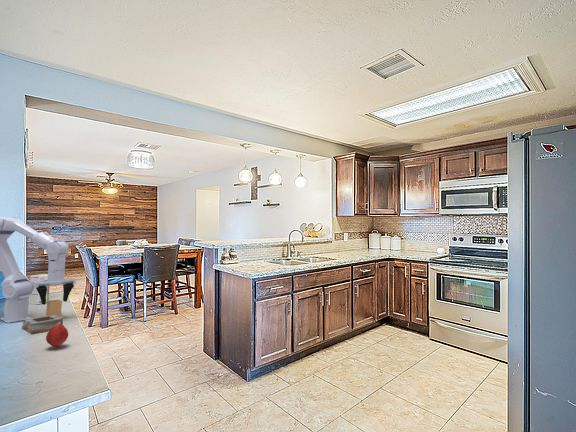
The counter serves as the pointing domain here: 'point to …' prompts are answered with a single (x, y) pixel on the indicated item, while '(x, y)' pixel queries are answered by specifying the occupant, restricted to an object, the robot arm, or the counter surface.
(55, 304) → the peg
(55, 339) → the onion
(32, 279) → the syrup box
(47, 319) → the socket block
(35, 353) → the counter surface
